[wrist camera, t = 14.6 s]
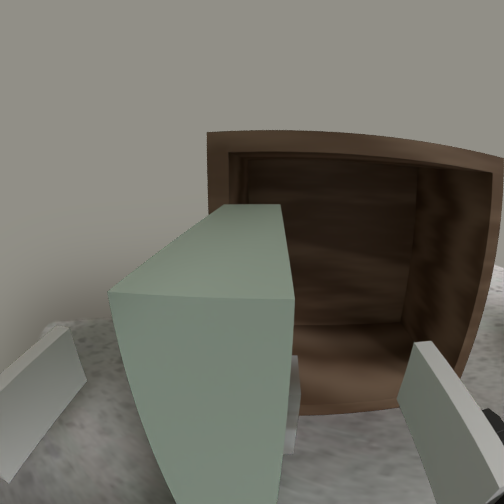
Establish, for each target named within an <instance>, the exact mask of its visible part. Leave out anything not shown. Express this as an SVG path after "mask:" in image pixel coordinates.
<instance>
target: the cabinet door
mask: <svg viewBox="0 0 504 504" xmlns="http://www.w3.org/2000/svg"><path fill="white" fill-rule="evenodd" d="M107 293H108V299H109V304H110V309H111V314H112V319H113V323H114V328H115V332H116V336H117V341H118V345H119V349H120V353H121V356H122V360H123V364H124V368H125V371H126V375H127V378H128V382H129V385H130V388H131V391H132V395H133V398H134V401H135V404H136V407H137V410H138V413H139V416H140V419H141V421H142V424H143V427H144V430H145V432H146V435H147V438H148V440H149V443H150V445H151V448H152V451H153V453H154V455H155V458H156V460H157V463H158V465H159V467H160V470H161V472H162V474H163V476H164V479H165V481H166V483H167V485H168V487H169V489H170V491H171V494H172V496H173V498H174V500H175V502H176V504H277V499H278V492H279V484H280V476H281V467H282V459H283V450H284V440H285V430H286V420H287V409H288V398H289V386H290V373H291V359H292V344H293V327H294V309H295V296H294V289H293V282H292V275H291V268H290V262H289V255H288V249H287V242H286V236H285V230H284V223H283V217H282V211H281V205H280V204H224V205H222V206H221V207H220V208H218V209H217V210H215V211H214V212H212V213H211V214H210V215H208V216H207V217H205V218H204V219H203V220H201V221H200V222H198V223H197V224H196V225H194V226H193V227H192V228H190V229H189V230H187V231H186V232H185V233H183V234H182V235H180V236H179V237H178V238H176V239H175V240H174V241H172V242H171V243H170V244H168V245H167V246H166V247H164V248H163V249H162V250H160V251H159V252H158V253H156V254H155V255H154V256H152V257H151V258H150V259H148V260H147V261H146V262H144V263H143V264H142V265H141V266H139V267H138V268H137V269H136V270H134V271H133V272H132V273H130V274H129V275H128V276H126V277H125V278H124V279H123V280H121V281H120V282H119V283H118V284H116V285H115V286H114V287H112V288H111V289H110V290H109V291H107Z"/></svg>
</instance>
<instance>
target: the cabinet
mask: <svg viewBox="0 0 504 504" xmlns="http://www.w3.org/2000/svg"><path fill="white" fill-rule="evenodd" d="M207 174H208V175H207V176H208V210H209V215H210V214H211V213H212V212H214V211H215V210H217V209H218V208H220V207H221V206H222V205H224V204H280V205H281V211H282V217H283V223H284V230H285V236H286V242H287V249H288V255H289V262H290V268H291V275H292V282H293V289H294V296H295V309H294V327H293V344H292V359H291V373H290V386H289V398H288V409H287V420H286V430H285V440H284V450H283V454H293V452H294V445H295V438H296V431H297V423H298V416H302V415H329V414H344V413H356V412H366V411H375V410H383V409H391V408H398V407H400V406H399V404H398V401H397V396H398V393H399V390H400V387H401V384H402V381H403V378H404V375H405V372H406V368H407V365H408V362H409V358H410V355H411V351H412V348H413V344H414V342H424V341H432V342H433V344H434V345H435V346H436V347H437V349H438V350H439V351H440V353H441V354H442V355H443V357H444V358H445V359H446V361H447V362H448V363H449V365H450V366H451V367H452V369H453V370H454V372H455V373H456V374H457V376H458V377H459V378H461V376H462V373H463V371H464V368H465V366H466V363H467V360H468V358H469V355H470V352H471V349H472V346H473V343H474V340H475V337H476V334H477V331H478V328H479V325H480V321H481V318H482V314H483V311H484V307H485V303H486V299H487V295H488V291H489V287H490V282H491V278H492V273H493V268H494V262H495V257H496V251H497V244H498V238H499V230H500V221H501V211H502V197H503V177H504V158H500V157H497V156H493V155H489V154H485V153H480V152H475V151H471V150H466V149H462V148H457V147H452V146H446V145H441V144H435V143H428V142H423V141H415V140H409V139H401V138H394V137H384V136H376V135H365V134H353V133H340V132H323V131H293V130H255V131H253V130H251V131H222V132H207Z"/></svg>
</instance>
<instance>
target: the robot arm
mask: <svg viewBox="0 0 504 504" xmlns="http://www.w3.org/2000/svg"><path fill="white" fill-rule="evenodd" d="M86 382H87V379H86V376H85V374H84V371H83V368H82V365H81V362H80V359H79V356H78V353H77V350H76V347H75V343H74V340H73V337H72V333H71V330H70V328H69V327H63V326H58V325H57V326H56V327H54V328H53V329H52V330H51V331H49V332H48V333H47V334H46V335H45V336H43V337H42V338H41V339H40V340H39V341H37V342H36V343H35V344H34V345H33V346H32V347H30V348H29V349H28V350H27V351H26V352H24V353H23V354H22V355H21V356H20V357H19V358H18V359H16V360H15V361H14V362H13V363H12V364H11V365H10V366H8V367H7V368H6V369H5V370H4V371H3V372H2V373H1V374H0V478H2V479H3V480H4V481H6V482H7V483H10V482H11V480H12V479H13V477H14V476H15V474H16V473H17V472H18V470H19V469H20V467H21V466H22V465H23V463H24V462H25V461H26V459H27V458H28V456H29V455H30V454H31V452H32V451H33V450H34V448H35V447H36V446H37V444H38V443H39V442H40V440H41V439H42V438H43V436H44V435H45V434H46V432H47V431H48V430H49V428H50V427H51V426H52V425H53V423H54V422H55V421H56V419H57V418H58V417H59V415H60V414H61V413H62V412H63V410H64V409H65V408H66V407H67V405H68V404H69V403H70V401H71V400H72V399H73V398H74V396H75V395H76V394H77V393H78V391H79V390H80V389H81V388H82V386H83V385H84V384H85V383H86ZM397 401H398V404H399V406H400V408H401V411H402V413H403V415H404V418H405V420H406V423H407V425H408V428H409V430H410V432H411V435H412V437H413V440H414V442H415V445H416V448H417V450H418V453H419V455H420V458H421V461H422V463H423V466H424V469H425V471H426V474H427V477H428V480H429V482H430V485H431V488H432V491H433V494H434V497H435V500H436V503H437V504H504V423H503V421H502V420H501V418H500V417H499V416H498V415H497V414H495V413H494V412H493V411H491V410H490V409H489V408H488V409H485V410H481V409H480V407H479V406H478V404H477V403H476V401H475V400H474V399H473V397H472V396H471V394H470V393H469V391H468V390H467V388H466V387H465V386H464V384H463V383H462V381H461V380H460V378H459V377H458V376H457V374H456V373H455V372H454V370H453V369H452V367H451V366H450V365H449V363H448V362H447V361H446V359H445V358H444V357H443V355H442V354H441V353H440V351H439V350H438V349H437V347H436V346H435V345H434V344H433V342H432V341H424V342H414V344H413V348H412V351H411V355H410V358H409V362H408V365H407V368H406V372H405V375H404V378H403V381H402V384H401V387H400V390H399V393H398V396H397Z"/></svg>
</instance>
